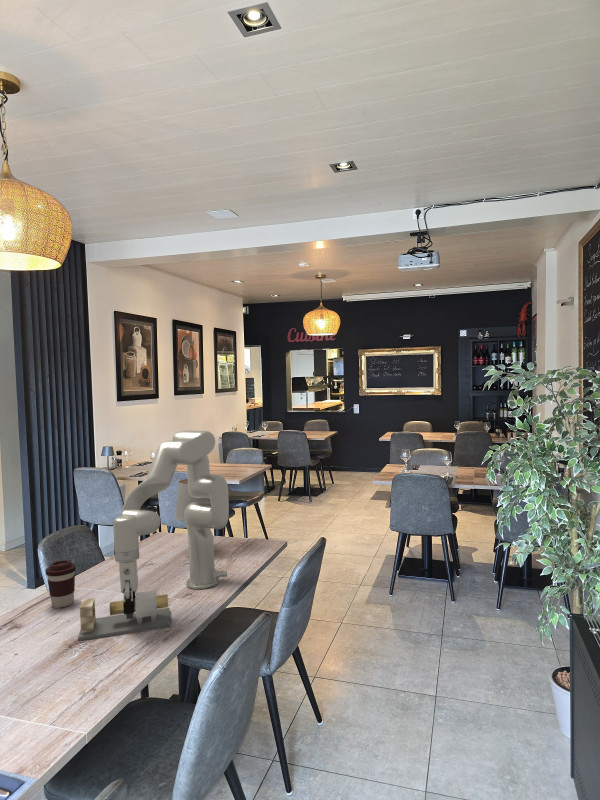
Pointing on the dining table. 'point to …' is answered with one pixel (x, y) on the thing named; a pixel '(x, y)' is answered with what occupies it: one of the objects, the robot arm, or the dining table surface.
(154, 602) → the sleeve
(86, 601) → the socket
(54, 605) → the coffee cup
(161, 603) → the tube
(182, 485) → the lamp
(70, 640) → the dining table surface
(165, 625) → the board
